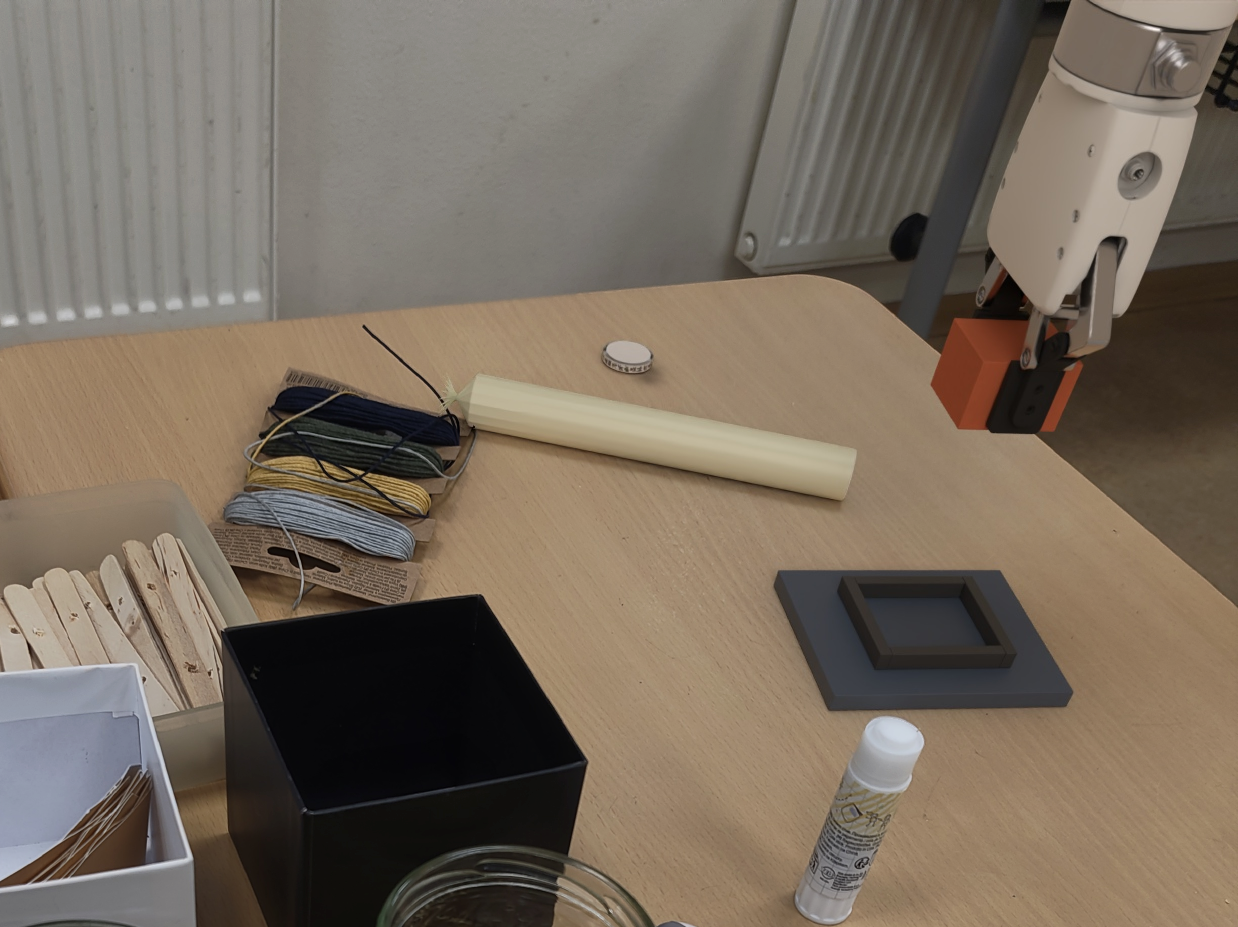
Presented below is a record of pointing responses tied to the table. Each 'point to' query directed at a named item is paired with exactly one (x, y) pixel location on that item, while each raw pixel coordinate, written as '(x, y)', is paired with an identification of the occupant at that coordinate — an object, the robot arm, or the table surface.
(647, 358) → the white flat disc
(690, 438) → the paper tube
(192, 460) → the table surface
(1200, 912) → the table surface
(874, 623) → the board
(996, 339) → the orange block
